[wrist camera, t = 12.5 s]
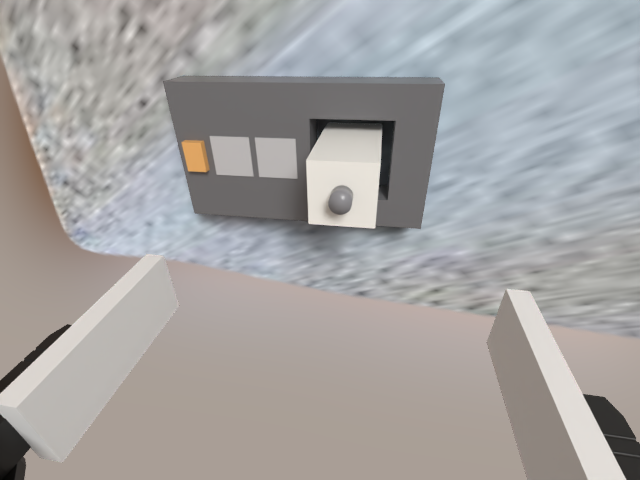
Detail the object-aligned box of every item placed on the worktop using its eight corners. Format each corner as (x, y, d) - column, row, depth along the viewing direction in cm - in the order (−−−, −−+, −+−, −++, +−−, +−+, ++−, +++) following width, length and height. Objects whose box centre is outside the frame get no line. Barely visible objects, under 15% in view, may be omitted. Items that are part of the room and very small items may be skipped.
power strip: (438, 77, 25) (446, 85, 22) (417, 211, 31) (421, 232, 28) (183, 75, 28) (158, 82, 25) (208, 198, 34) (191, 216, 31)
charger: (382, 123, 27) (380, 170, 19) (378, 175, 30) (374, 238, 21) (327, 122, 28) (301, 167, 19) (327, 173, 30) (304, 233, 22)
